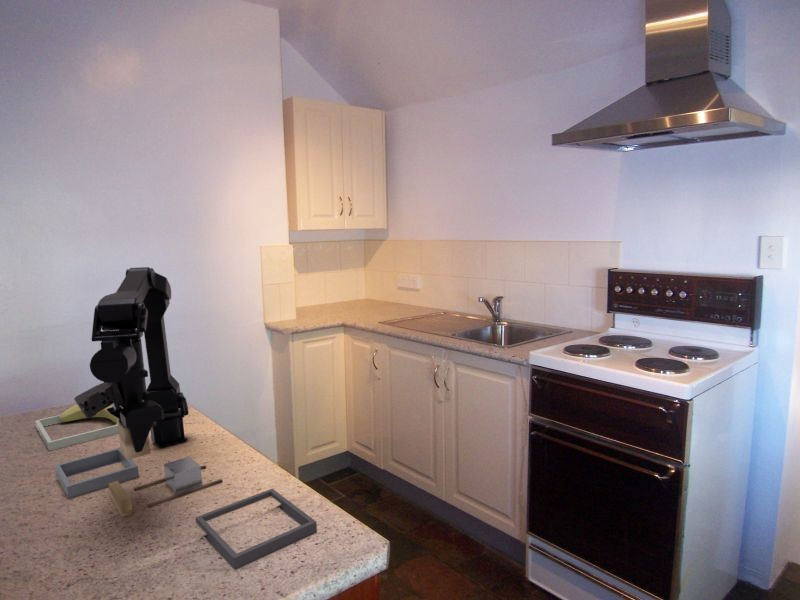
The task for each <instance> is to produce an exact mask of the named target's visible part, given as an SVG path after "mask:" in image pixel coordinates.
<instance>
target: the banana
mask: <svg viewBox="0 0 800 600" xmlns="http://www.w3.org/2000/svg"><path fill="white" fill-rule="evenodd" d="M108 408H111V405H110V406H108V407H107V408H105V409H103V410H101V411H100V412H98V413H97V414H96V415H95V416H93V417H92V418H105V419H106V418H107V419H108V420H111V421H112V422H113V423H115V425H118V418H117V417H115V416H113V415H112V414H110V413H109V412H108V411H107V409H108ZM59 415H60V416H59V420H60V422H63V423H67V422H73V421H77V420H83V419H87V418H86V416H85V415H84V414H83V413H82V411H81V410H80V408H79V406H78V405H77V404H74V405H72V406H71V407H69V408H68V409H66V410H65V411H63V412H62V413H61V414H59Z"/></svg>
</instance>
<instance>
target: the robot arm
mask: <svg viewBox="0 0 800 600" xmlns="http://www.w3.org/2000/svg"><path fill="white" fill-rule="evenodd" d="M170 284H171V283H170V282H169V280H168V279H167V277H166V276H163V275H162V274H160V273H157V272H156V271H155V269H154V268H153V267H151V268H150V267H149V266H146V267H143V266H142V267H130V268H129V269H128V268H127V269H126V270H125V277H124V278H123V280H122V282H121V283H120V285H119V286H118V288H117V290H116V291H115V292H113V293H111V294H107V295H104V296H103V297H102V298H100V299H99V301H98V303H97V305H95V307H94V312H93V320H92V321H93V322H92V331H91V342H100V349H99V350H98V351H96V352H95V353H94V354H93V355H92V357H91V359H90V362H89V369H90V373H91V374H92V375H93V378H95V379H97V380H98V381H101V382H102V383H100V384H96V385H95V386H93V387H91V388H89V389H87V390H85V391H84V392H81V393H79V394H77V396H75V397H74V398H73V399H74V401H75V403H76V405H78V406H79V408H80V410H81V411H82V413H83V414H84V415H85V416H86V418H85V419H90V418H94V417H93V416H95V415H96V414H97V413H98V412H100V411H101V410H103V409H105V408H107V407H108V406H110V405H111V408H108V409H107V411H108V412H109V413H110V414H112V415H113V416H115V417H117V418H118V422H119V423H120V424H121V425H122V426H125V427H126V428H128V430H129V434H130V437H131V440H132V443H133V446H134V449H135V452H136V453H137V452H141V451H142V450H143V447H144V445H145V442H146V440H147V437H148V434H150V439H151V442H153V444H155V445H156V446H157V447H158V448H162V449H163V448H166V447H169V446H172V445H176V444H180V443H183V442H187V441H188V437H187V436H185V428H184V427H185V426H184V418H185V416H188V415H189V413H190V412H189V406H188V401H187V398H186V397H185V395H184V393H183V392H181V388H180V386H181V385H180V382H178V380H177V379H176V378H175V377H173V375H172V372H171V365H170V357H169V349H168V341H167V333H166V325H165V317H164V316H165V314H166V312H167V310H168V308H169V306H170V301H171V300H172V287H171V285H170ZM143 335H144V341H145V350H146V359H147V364H148V370H146V369H145V363H144V354H143V343H142V337H143ZM147 377H148V378H149V380H150V382H149V384H148V386H147V384H146V383H147V382H146V378H147Z"/></svg>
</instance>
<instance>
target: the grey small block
mask: <svg viewBox="0 0 800 600" xmlns="http://www.w3.org/2000/svg"><path fill="white" fill-rule="evenodd" d="M163 468H164V478H165V480H166V481H165V484H166V485H167V486H168V487H169V488H170V489H171V490H172V491H173V493H174V494H175V495H176V494H179V493H182V492H185V491H188V490H191V489H193V488H196V487H199V486H202V485H203V480H202V470H201V465H200V464H198V462H196V461H195V460H194V459H193V458H192V457H191V456H186V457H183V458H180V459H179V458H178V459H176V460H172V461H169V462H166V463H164V464H163Z"/></svg>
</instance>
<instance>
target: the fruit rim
mask: <svg viewBox="0 0 800 600" xmlns="http://www.w3.org/2000/svg"><path fill="white" fill-rule="evenodd" d="M60 415H61V414H57V415H53V416H49V417H45V418H44V417H43V418H41V419H36V420H35V426H36V427H35V428H36V430H37V431H39V432H38V434H39V435H40V438H41V439H42V441H43V440H44V441H43V442H44V444H45V446H46V447H47V449H48V451H49V452H50V450H51V451H53V450H58V449H62V448H66V447H70V446H74V445H77V444H81V443H85V442H89V441H93V440H98V439H101V438H105V437H109V436H113V435H116V434H117V435H118V434H119V429H118V425H116V424H114V425H110V426H106V427H103V428H98V429H94V430H90V431H85V432H82V433H78V434H74V435H70V436H66V437H62V438H61V437H60V438H56V439H53V440H52V439H51V437H50V435H49V434H48V432H47V431H46V429H45V427H44V426H46V427H49V426H48V425H50V426H53V425H52V424H54V425H57V423H59V424H63V423H62V422H60V420H59V416H60Z"/></svg>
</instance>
